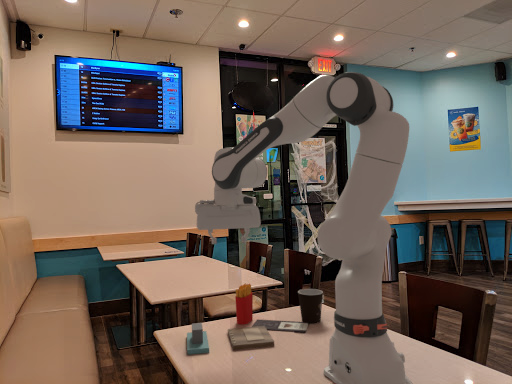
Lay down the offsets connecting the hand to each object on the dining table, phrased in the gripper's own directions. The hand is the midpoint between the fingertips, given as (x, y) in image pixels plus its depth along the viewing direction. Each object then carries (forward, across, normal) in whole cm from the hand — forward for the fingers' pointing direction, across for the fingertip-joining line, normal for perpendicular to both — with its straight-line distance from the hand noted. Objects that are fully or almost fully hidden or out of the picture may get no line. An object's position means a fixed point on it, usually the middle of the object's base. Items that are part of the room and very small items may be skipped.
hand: (229, 243), depth 120 cm
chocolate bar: (+30, +17, +4) cm, 34 cm away
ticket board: (+29, +5, -5) cm, 30 cm away
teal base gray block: (+29, -11, -5) cm, 31 cm away
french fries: (+29, +6, +12) cm, 32 cm away
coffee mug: (+29, +30, +8) cm, 43 cm away
